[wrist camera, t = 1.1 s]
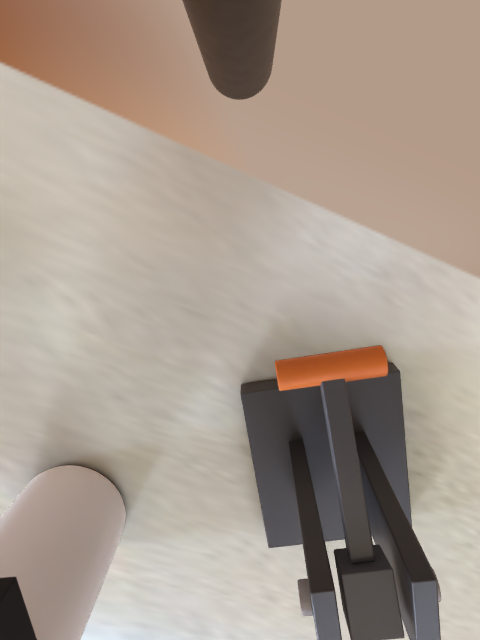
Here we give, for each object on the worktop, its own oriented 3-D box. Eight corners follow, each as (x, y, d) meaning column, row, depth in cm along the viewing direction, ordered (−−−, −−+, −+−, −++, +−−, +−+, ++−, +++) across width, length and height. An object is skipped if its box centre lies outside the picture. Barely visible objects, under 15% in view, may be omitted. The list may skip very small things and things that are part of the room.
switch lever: (274, 360, 22) (274, 361, 19) (375, 345, 21) (387, 344, 19) (313, 613, 20) (318, 647, 18) (420, 601, 20) (439, 635, 18)
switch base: (241, 383, 29) (232, 520, 16) (392, 362, 28) (502, 487, 16) (267, 532, 32) (277, 742, 19) (405, 516, 31) (505, 723, 19)
